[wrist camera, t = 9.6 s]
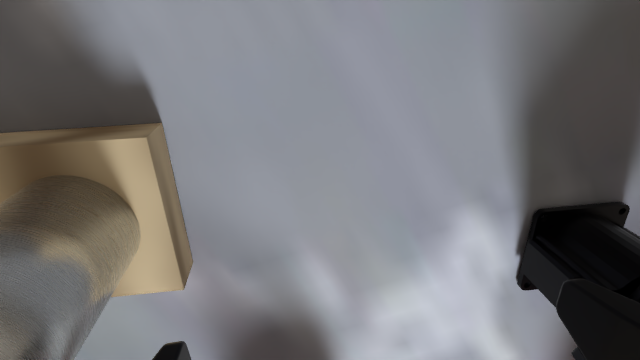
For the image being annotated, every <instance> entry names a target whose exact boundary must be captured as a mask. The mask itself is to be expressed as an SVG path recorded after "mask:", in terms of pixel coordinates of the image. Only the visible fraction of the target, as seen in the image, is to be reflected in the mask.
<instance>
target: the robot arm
mask: <svg viewBox="0 0 640 360" xmlns="http://www.w3.org/2000/svg"><path fill="white" fill-rule="evenodd" d="M629 209H630V208H629V206H628V205H626V204H624V203H623V202H613V203H602V204H591V205H579V206H568V207H557V208H546V209H540V210H538V211H536V212H535V214H534V216H533V220H532V224H531V228H530V232H529V236H528V240H527V245H526V249H525V253H524V257H523V261H522V265H521V269H520V273H519V278H518V282H517V284H518V286H519V287H520V288H521V289H522V290H534V289H539V291H540V292H541V293H542V294H543V295H544V296H545V297H546V298H547V299H548V300H549V301H550V302H551V303H552V304H553V305H554V306H555V307H556V310H557V313H558V315H559V317H560V319H561V320H562V322H563V324H564V325H565V327H566V328H567V330H568V331H569V333H570V335H571V336H572V338H573V339H574V341H575V343H576V344H577V346H578V347H577V348H576V349H575V350H574V351H573V352H572V355H573V357H574V358H575V360H640V237H639V236H637V235H636V234H634V233H633V232H631V231H629V230H628V229H626V228H624V227H623V226H624V224H625V221H626V218H627V216H628V213H629ZM542 216H543V217H542ZM152 360H191V357H190V354H189V351H188V348H187V345H186V343H185V342H184V341H179V342H172V343H167V344H165V345H164V346H163V347H162V348H161V349H160V350H159V352H158V353H157V354H156V355H155V357H154V358H153V359H152Z"/></svg>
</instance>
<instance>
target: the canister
mask: <svg viewBox="0 0 640 360" xmlns="http://www.w3.org/2000/svg"><path fill="white" fill-rule="evenodd" d="M140 240H141V231H140V226H139V222H138V220H137V217H136V215H135V213H134V212H133V210H132V209H131V207H130V206H129V205H128V203H127V202H126V201H125V200H124V199H123V198H122V197H121V196H119V195H118V194H117V193H116V192H114V191H113V190H111V189H110V188H108V187H106V186H105V185H103V184H101V183H98V182H96V181H93V180H91V179H87V178H83V177H78V176H72V175H55V176H49V177H44V178H41V179H38V180H36V181H34V182H32V183H30V184H28V185H27V186H25V187H24V188H22V189H21V190H20V191H18V192H17V193H15V194H14V195H12V196H11V197H9V198H8V199H6V200H5V201H3V202H2V203H1V204H0V360H74V359H75V357H76V356H77V354H78V352H79V350H80V349H81V347H82V345H83V344H84V342H85V340H86V338H87V337H88V335H89V333H90V332H91V330H92V328H93V327H94V325H95V323H96V321H97V320H98V318H99V316H100V315H101V313H102V311H103V309H104V308H105V306H106V304H107V303H108V301H109V299H110V297H111V296H112V294H113V292H114V291H115V289H116V287H117V286H118V284H119V282H120V280H121V279H122V277H123V275H124V274H125V272H126V270H127V268H128V267H129V265H130V263H131V262H132V260H133V258H134V257H135V255H136V253H137V251H138V249H139V245H140Z"/></svg>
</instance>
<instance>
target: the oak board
mask: <svg viewBox="0 0 640 360" xmlns="http://www.w3.org/2000/svg"><path fill="white" fill-rule="evenodd" d="M55 175H72V176H78V177H83V178H87V179H91V180H93V181H96V182H98V183H101V184H103V185H105V186H106V187H108V188H110V189H111V190H113V191H114V192H116V193H117V194H118V195H119V196H121V197H122V198H123V199H124V200H125V201H126V202H127V203H128V205H129V206H130V207H131V209H132V210H133V212H134V213H135V215H136V217H137V220H138V222H139V226H140V231H141V240H140V245H139V249H138V251H137V253H136V255H135V257H134V258H133V260H132V262H131V263H130V265H129V267H128V268H127V270H126V272H125V274H124V275H123V277H122V279H121V280H120V282H119V284H118V286H117V287H116V289H115V291H114V292H113V294H112V296H111V297H116V296H126V295H136V294H146V293H156V292H166V291H176V290H184V288H185V285H186V282H187V279H188V276H189V273H190V270H191V267H192V264H193V260H192V256H191V251H190V247H189V242H188V238H187V233H186V229H185V224H184V220H183V215H182V211H181V206H180V202H179V197H178V193H177V188H176V184H175V180H174V175H173V171H172V166H171V162H170V157H169V153H168V148H167V144H166V139H165V135H164V130H163V126H162V123H152V124H136V125H120V126H104V127H88V128H72V129H56V130H41V131H25V132H9V133H0V204H1V203H2V202H3V201H5V200H6V199H8V198H9V197H11V196H12V195H14V194H15V193H17V192H18V191H20V190H21V189H22V188H24V187H25V186H27V185H28V184H30V183H32V182H34V181H36V180H38V179H41V178H44V177H49V176H55Z"/></svg>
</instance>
